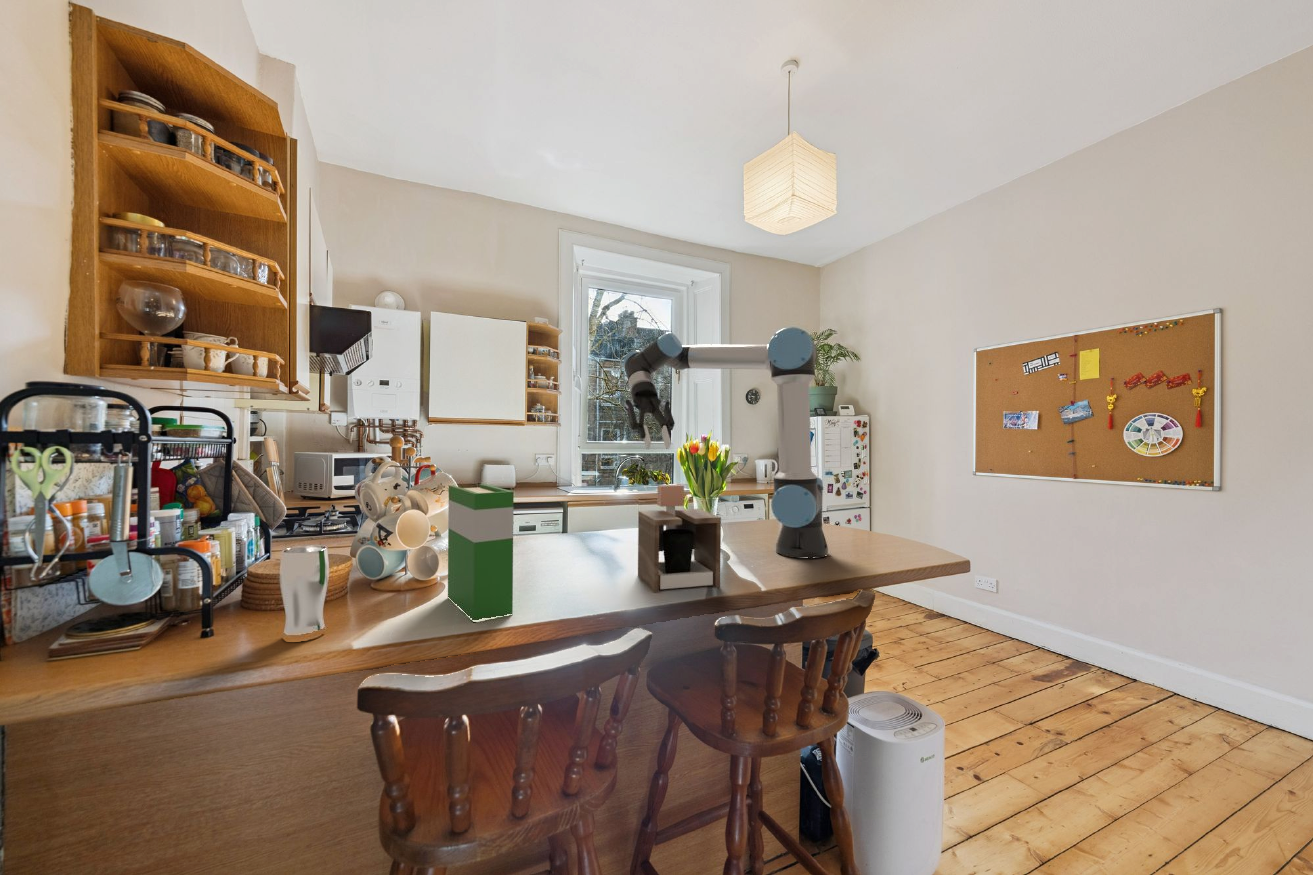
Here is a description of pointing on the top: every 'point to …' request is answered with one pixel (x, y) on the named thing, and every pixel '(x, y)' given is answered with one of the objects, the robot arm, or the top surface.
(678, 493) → the slider
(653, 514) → the tunnel
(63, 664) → the top surface
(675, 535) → the cup
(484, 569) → the hardback book
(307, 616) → the beer glass
